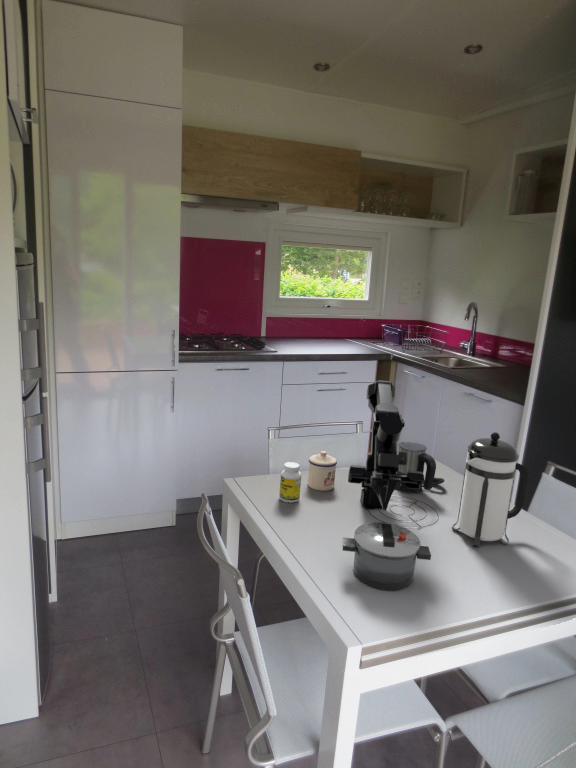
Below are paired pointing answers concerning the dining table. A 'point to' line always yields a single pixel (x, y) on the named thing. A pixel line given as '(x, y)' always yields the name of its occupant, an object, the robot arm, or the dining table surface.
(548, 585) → the dining table surface
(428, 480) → the milk frother
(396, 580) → the steel pot
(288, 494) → the pill bottle
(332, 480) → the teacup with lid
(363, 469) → the robot arm
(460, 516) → the coffee press
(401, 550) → the pot lid
